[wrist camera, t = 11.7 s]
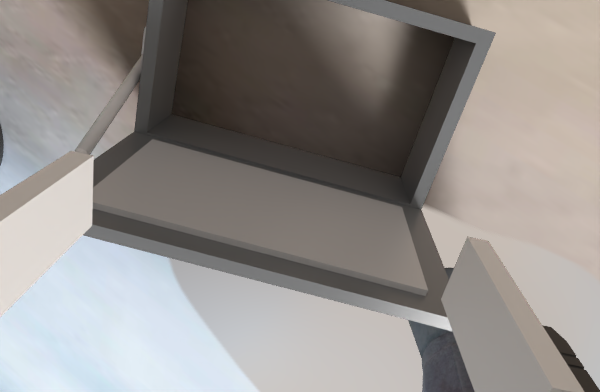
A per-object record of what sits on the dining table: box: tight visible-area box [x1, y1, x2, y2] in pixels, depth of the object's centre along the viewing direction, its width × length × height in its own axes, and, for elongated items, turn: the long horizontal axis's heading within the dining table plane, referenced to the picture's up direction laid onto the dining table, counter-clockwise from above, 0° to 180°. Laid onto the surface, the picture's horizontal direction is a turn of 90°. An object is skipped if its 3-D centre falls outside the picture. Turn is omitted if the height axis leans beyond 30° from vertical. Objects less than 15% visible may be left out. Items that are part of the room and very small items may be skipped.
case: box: [75, 0, 496, 331], centre depth 31 cm, size 26×16×20 cm, turn 75°
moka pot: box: [408, 268, 474, 392], centre depth 39 cm, size 10×15×20 cm, turn 166°
